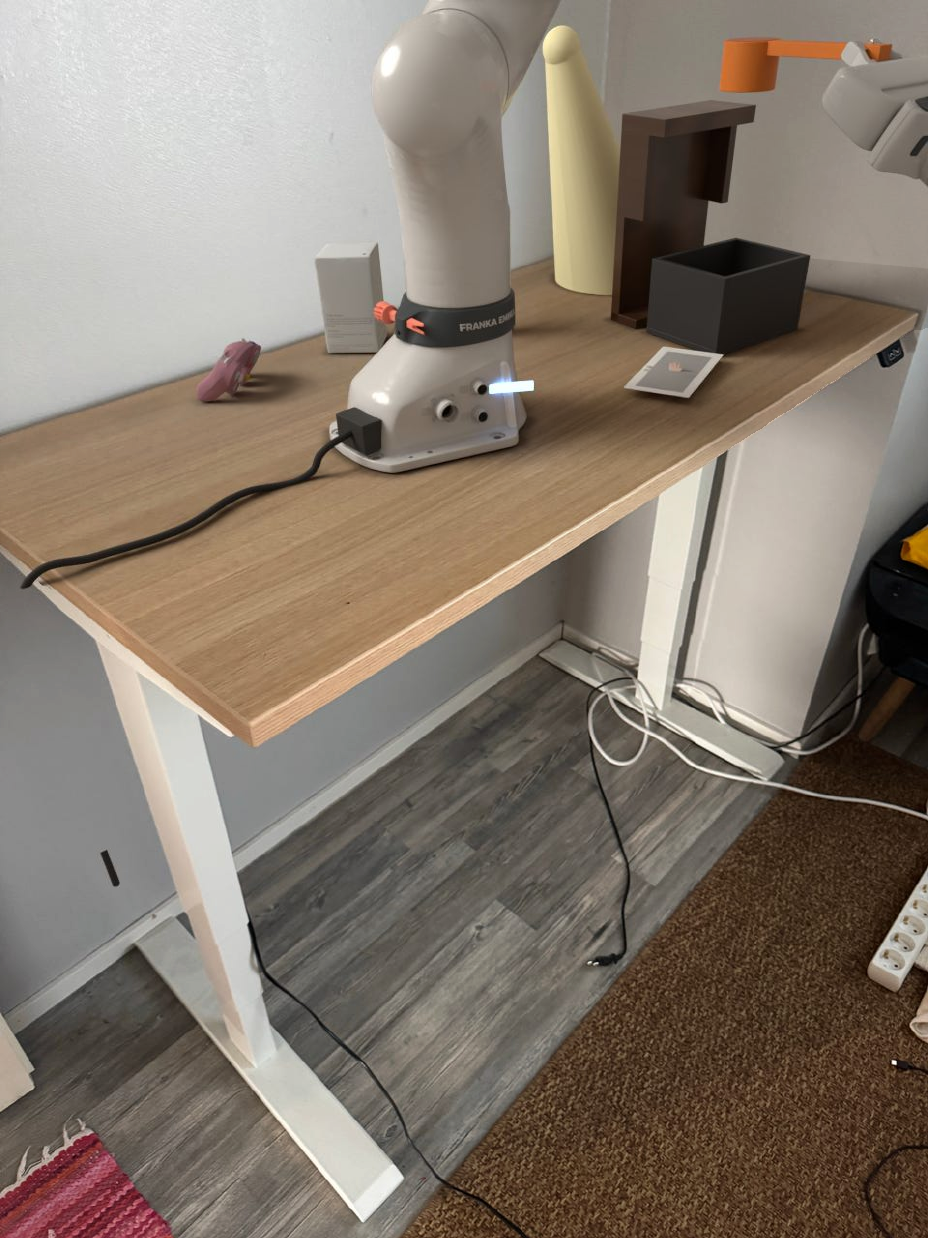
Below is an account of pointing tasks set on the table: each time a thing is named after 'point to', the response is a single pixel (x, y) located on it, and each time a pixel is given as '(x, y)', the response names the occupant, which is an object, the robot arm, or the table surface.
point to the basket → (726, 295)
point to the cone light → (580, 169)
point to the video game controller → (229, 370)
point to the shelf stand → (668, 190)
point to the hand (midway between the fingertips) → (858, 46)
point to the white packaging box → (350, 297)
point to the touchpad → (674, 372)
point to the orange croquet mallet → (776, 59)
